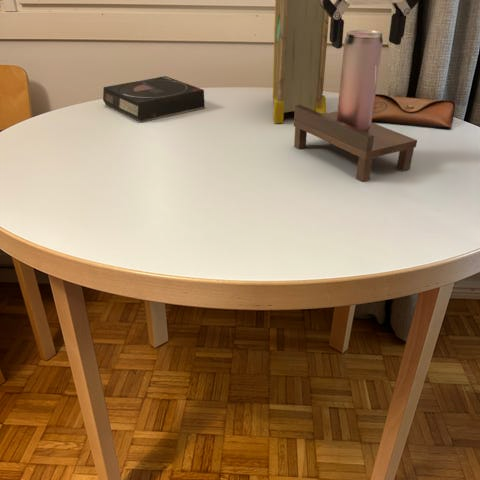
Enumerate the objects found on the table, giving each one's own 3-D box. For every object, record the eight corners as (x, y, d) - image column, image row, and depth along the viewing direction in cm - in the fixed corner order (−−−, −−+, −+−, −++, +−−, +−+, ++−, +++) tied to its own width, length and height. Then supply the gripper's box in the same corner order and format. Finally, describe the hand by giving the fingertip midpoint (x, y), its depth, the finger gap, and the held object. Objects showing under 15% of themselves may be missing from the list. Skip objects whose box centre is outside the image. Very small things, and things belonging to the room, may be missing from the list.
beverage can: (339, 122, 95) (349, 28, 86) (373, 125, 94) (386, 30, 85) (332, 132, 91) (341, 34, 82) (366, 136, 89) (380, 37, 80)
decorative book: (271, 98, 126) (275, -56, 108) (317, 99, 126) (329, -56, 107) (272, 125, 110) (277, -50, 92) (325, 125, 110) (341, -51, 92)
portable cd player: (103, 105, 123) (101, 87, 120) (167, 93, 131) (165, 76, 128) (138, 123, 112) (135, 103, 110) (204, 108, 120) (203, 89, 118)
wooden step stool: (338, 136, 104) (342, 97, 100) (411, 169, 91) (420, 125, 86) (292, 146, 100) (294, 105, 96) (362, 182, 86) (368, 136, 82)
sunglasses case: (363, 119, 111) (369, 87, 110) (364, 128, 118) (370, 97, 117) (453, 128, 106) (460, 93, 105) (449, 136, 113) (456, 104, 112)
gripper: (328, -90, 70) (320, 53, 80) (450, -94, 72) (427, 46, 82) (312, -89, 76) (306, 44, 86) (425, -92, 78) (407, 38, 88)
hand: (365, 45), depth 84 cm, fingers open, 9 cm apart
